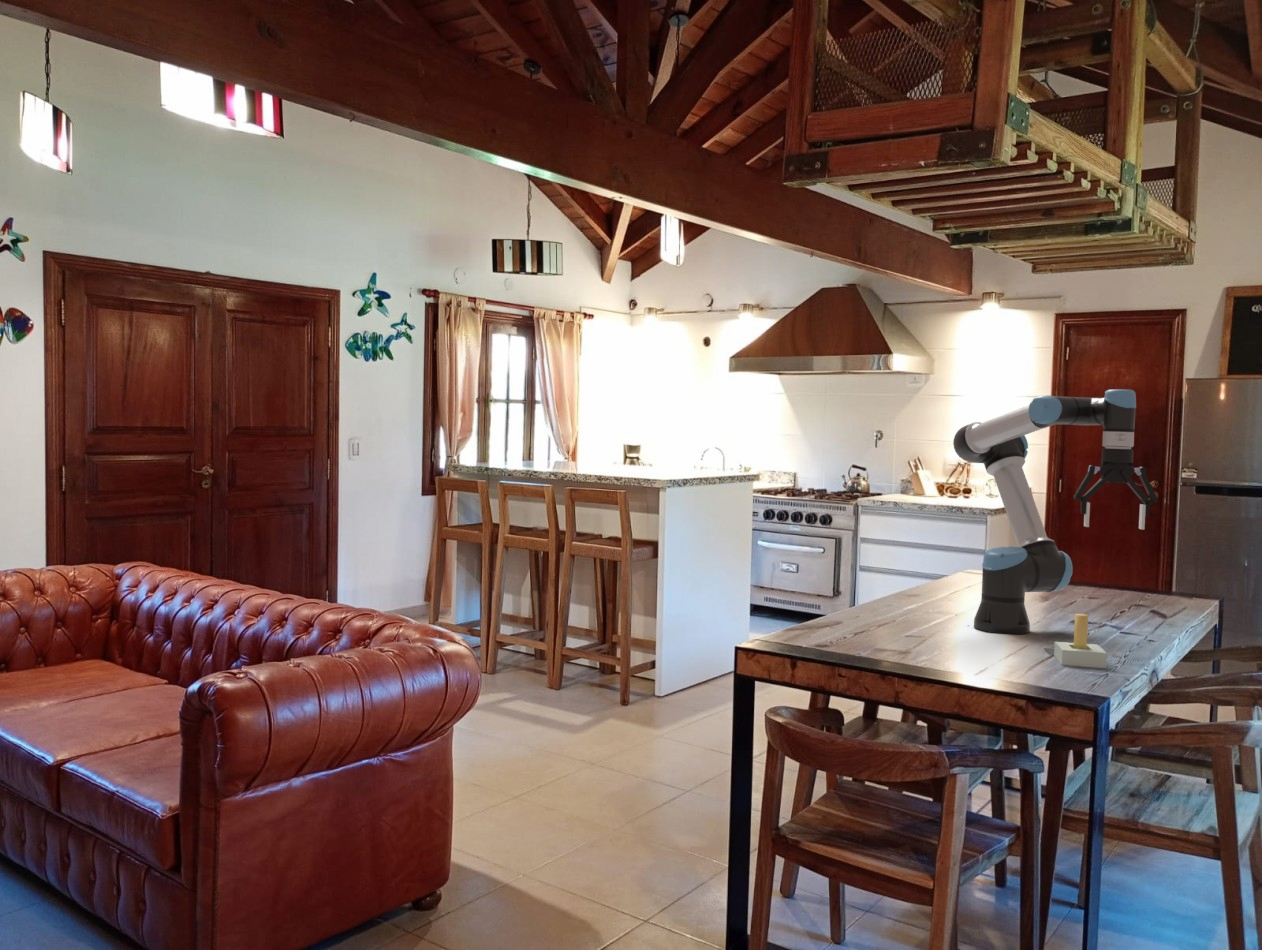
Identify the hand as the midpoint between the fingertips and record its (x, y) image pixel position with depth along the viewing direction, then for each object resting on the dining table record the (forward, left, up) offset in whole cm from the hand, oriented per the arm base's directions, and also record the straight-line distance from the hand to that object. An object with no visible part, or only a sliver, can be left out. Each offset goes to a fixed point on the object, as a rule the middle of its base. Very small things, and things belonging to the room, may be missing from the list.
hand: (1113, 527), depth 268 cm
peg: (-12, -25, -32) cm, 42 cm away
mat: (-12, -15, -32) cm, 37 cm away
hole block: (-12, -25, -32) cm, 42 cm away
